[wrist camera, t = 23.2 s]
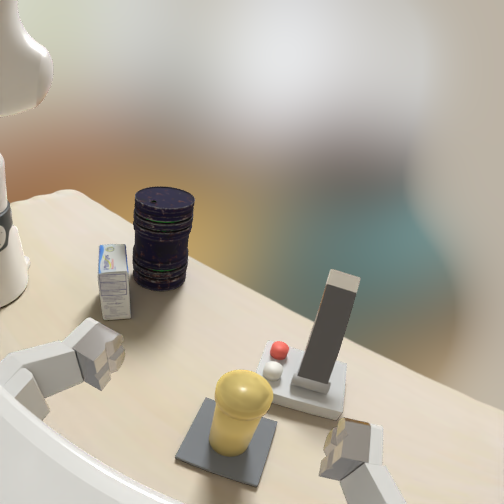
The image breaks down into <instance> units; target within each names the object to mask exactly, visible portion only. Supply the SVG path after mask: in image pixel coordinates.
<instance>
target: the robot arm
mask: <svg viewBox="0 0 504 504" xmlns="http://www.w3.org/2000/svg"><path fill="white" fill-rule="evenodd" d="M53 73H54V68H53V61H52V58H51V56H50V54H49V52H48V50H47V49H46V48H45V47H44V46H42V45H41V44H39V43H38V42H36V41H35V40H34V39H33V38H32V37H31V36H30V35H29V34H28V33H27V31H26V30H25V28H24V26H23V24H22V22H21V20H20V16H19V12H18V0H0V118H1V117H8V116H11V115H15V114H18V113H21V112H24V111H27V110H30V109H33V108H36V107H37V106H38V105H39V104H40V103H41V102H42V101H43V99H44V98H45V97H46V95H47V93H48V91H49V89H50V87H51V84H52V80H53ZM29 266H30V259H29V257H27V256H24V253H23V249H22V245H21V241H20V237H19V232H18V229H17V227H15V226H14V225H12V211H11V208H10V203H9V202H8V200H7V193H6V182H5V163H4V160H3V157H2V155H1V153H0V307H3V306H5V305H7V304H9V303H10V302H12V301H13V300H15V299H16V298H17V297H18V296H19V295H20V294H21V293H22V292H23V291H24V289H25V288H26V286H27V283H28V268H29ZM123 342H124V338H123V335H121V334H120V333H118V332H116V331H114V330H112V329H110V328H108V327H107V326H105V325H103V324H101V323H100V322H98V321H96V320H94V319H92V318H90V317H89V318H86V319H85V320H84V321H83V322H82V323H81V324H80V325H79V326H78V327H76V328H75V329H74V330H73V331H72V332H71V333H70V334H69V335H68V336H67V337H66V338H65V339H64V340H63V341H62V342H61V341H59V340H58V341H54V342H51V343H47V344H43V345H39V346H35V347H31V348H27V349H24V350H20V351H16V352H12V353H9V354H8V355H7V356H6V357H5V358H3V359H2V360H1V361H0V504H186V503H183V502H181V501H178V500H176V499H174V498H171V497H169V496H167V495H164V494H162V493H160V492H158V491H156V490H153V489H151V488H149V487H147V486H145V485H143V484H141V483H139V482H137V481H135V480H133V479H131V478H129V477H128V476H126V475H124V474H122V473H120V472H118V471H117V470H115V469H113V468H111V467H110V466H108V465H106V464H104V463H103V462H101V461H99V460H98V459H96V458H95V457H93V456H91V455H90V454H88V453H87V452H85V451H83V450H82V449H80V448H79V447H77V446H76V445H74V444H73V443H72V442H70V441H69V440H67V439H66V438H64V437H63V436H62V435H60V434H59V433H57V432H56V431H55V430H53V429H52V428H51V427H49V426H48V425H47V424H45V423H44V422H43V419H44V418H45V417H46V416H47V414H48V413H49V412H50V408H49V406H48V404H47V402H46V401H45V399H44V398H47V397H49V396H51V395H54V394H56V393H59V392H61V391H63V390H66V389H68V388H71V387H73V386H75V385H78V384H80V383H82V382H83V381H85V382H87V383H88V384H90V385H92V386H93V387H95V388H97V389H99V390H100V391H102V390H103V388H104V387H105V386H106V385H107V383H108V382H109V381H110V380H111V374H110V373H113V372H116V371H118V369H119V368H120V367H121V365H122V363H123V361H124V357H125V349H124V348H123V346H122V345H121V344H122V343H123ZM323 451H324V453H325V455H326V457H325V458H324V459H323V460H322V461H321V466H320V471H319V476H320V477H324V478H329V479H333V480H338V481H340V485H341V487H342V490H343V493H344V495H345V498H346V501H347V504H407V503H406V501H405V499H404V497H403V496H402V494H401V492H400V490H399V488H398V487H397V485H396V483H395V481H394V479H393V478H392V476H391V474H390V472H389V471H388V469H387V467H386V466H384V465H382V463H383V427H382V426H380V425H375V424H370V423H368V422H363V421H358V420H353V419H349V418H345V417H344V418H341V419H340V421H339V422H338V427H335V428H333V429H332V430H331V431H330V432H329V434H328V436H327V438H326V441H325V445H324V450H323Z"/></svg>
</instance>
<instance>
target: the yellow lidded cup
mask: <svg viewBox="0 0 504 504" xmlns="http://www.w3.org/2000/svg"><path fill="white" fill-rule="evenodd" d="M272 401H273V390H272V388H271V386H270V384H269V383H268V381H267V380H266V379H265V378H263V377H262V376H261V375H259V374H257V373H255V372H252V371H248V370H234V371H230V372H228V373H226V374H224V375H223V376H222V377H221V378H220V379H219V380H218V382H217V385H216V390H215V402H216V406H215V411H214V416H213V421H212V425H211V430H210V435H209V442H210V445H211V447H212V448H213V450H214V451H216V452H217V453H218V454H220V455H223V456H227V457H234V456H238V455H240V454H242V453H243V452H245V450H246V449H247V447H248V445H249V443H250V441H251V439H252V437H253V435H254V432H255V430H256V428H257V426H258V424H259V422H260V419H261V417H262V416H264V415H265V414H266V413H267V411H268V410H269V408H270V405H271V403H272Z"/></svg>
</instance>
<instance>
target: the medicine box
mask: <svg viewBox="0 0 504 504" xmlns="http://www.w3.org/2000/svg"><path fill="white" fill-rule="evenodd" d="M98 286H99V294H100V302H101V309H102V315H103V320H116V319H129V318H131V312H130V296H129V276H128V264H127V254H126V245H125V244H108V245H100V246H99V263H98Z"/></svg>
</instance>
